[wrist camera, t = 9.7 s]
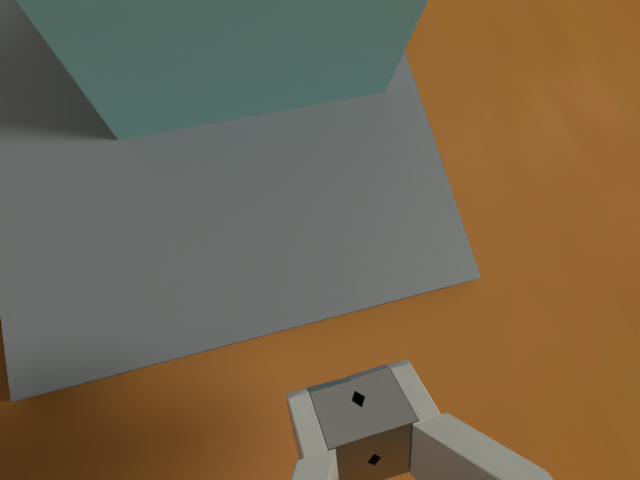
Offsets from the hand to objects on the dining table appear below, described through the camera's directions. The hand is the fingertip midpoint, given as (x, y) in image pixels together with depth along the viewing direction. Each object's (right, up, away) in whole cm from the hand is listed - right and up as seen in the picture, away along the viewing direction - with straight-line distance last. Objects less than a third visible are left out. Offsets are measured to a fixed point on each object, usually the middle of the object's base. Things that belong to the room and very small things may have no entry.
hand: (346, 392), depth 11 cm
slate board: (-7, +12, +14) cm, 19 cm away
